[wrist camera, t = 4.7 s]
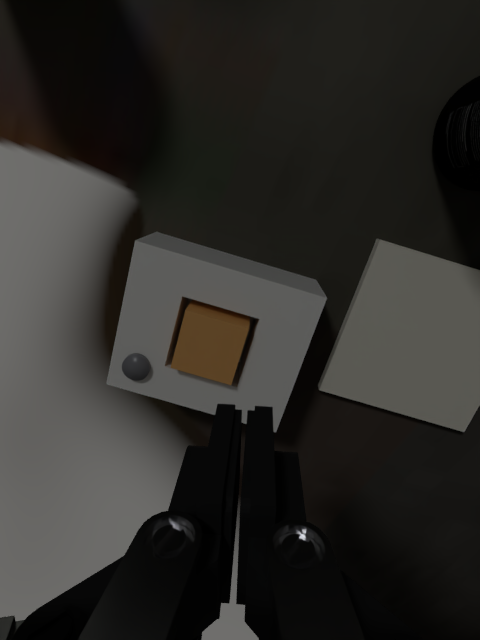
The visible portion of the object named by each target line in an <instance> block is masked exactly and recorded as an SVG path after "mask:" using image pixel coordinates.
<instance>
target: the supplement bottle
mask: <svg viewBox="0 0 480 640" xmlns="http://www.w3.org/2000/svg"><path fill="white" fill-rule="evenodd" d="M433 151H434V156H435V160H436V163H437V165H438V167H439V169H440V170H441V172H442V173H443V175H444V176H445V177H446V178H447V179H448V180H449V181H451V182H452V183H453V184H455V185H457V186H459V187H461V188H464V189H467V190H472V191H480V76H478V77H477V78H475V79H473V80H471V81H470V82H468V83H467V84H465V85H464V86H463V87H461V88H460V89H459V90H458V91H457V92H456V93H455V94H454V95H453V96H452V97H451V98H450V99H449V100H448V102H447V103H446V105H445V106H444V108H443V109H442V111H441V113H440V115H439V117H438V120H437V123H436V126H435V130H434V136H433Z"/></svg>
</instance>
